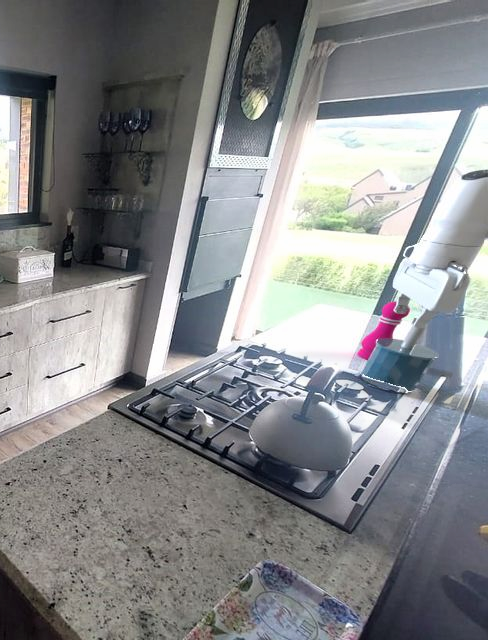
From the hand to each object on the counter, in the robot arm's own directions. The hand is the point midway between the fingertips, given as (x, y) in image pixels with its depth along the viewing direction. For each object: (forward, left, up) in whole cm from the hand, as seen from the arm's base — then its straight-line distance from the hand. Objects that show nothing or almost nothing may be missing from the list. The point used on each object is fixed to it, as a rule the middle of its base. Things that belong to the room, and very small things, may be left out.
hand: (407, 319), depth 90 cm
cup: (+4, -24, -24) cm, 34 cm away
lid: (+4, -24, -13) cm, 28 cm away
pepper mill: (+15, -40, -24) cm, 49 cm away
